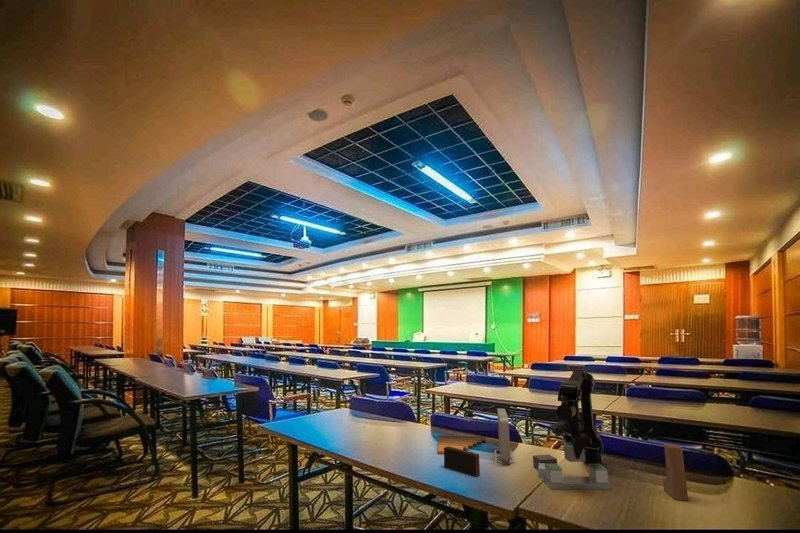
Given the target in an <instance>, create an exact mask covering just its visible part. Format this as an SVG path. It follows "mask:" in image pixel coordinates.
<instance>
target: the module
mask: <svg viewBox="0 0 800 533" xmlns="http://www.w3.org/2000/svg"><path fill="white" fill-rule="evenodd" d="M563 453H564V454H563V455H564V459H565V460H567V461H568V462H570V463H585V456H584V449H583V451H582V453H581V455H580V458H579V459H576V457H575V452H574V447H573V444H572V443H571V442H566V441H564V442H563Z"/></svg>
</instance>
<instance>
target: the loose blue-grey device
mask: <svg viewBox="0 0 800 533" xmlns="http://www.w3.org/2000/svg"><path fill="white" fill-rule="evenodd" d="M537 471H538V479H541V478H543V479H542V480H544V477H545V463H539V467H538V470H537Z"/></svg>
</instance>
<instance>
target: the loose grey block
mask: <svg viewBox="0 0 800 533" xmlns="http://www.w3.org/2000/svg"><path fill="white" fill-rule="evenodd" d="M539 463H545V464H557V465H558V458H556V457H554V456H553V455H550V454H538V455H532V465H533V466H532V467H533V468H534V469H535V470H537V471H538V467H539Z"/></svg>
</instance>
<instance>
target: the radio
mask: <svg viewBox="0 0 800 533" xmlns="http://www.w3.org/2000/svg"><path fill="white" fill-rule="evenodd" d="M440 432H441V433H443V434H444V436H448V437H449V436H450V435H447V434H446V433H445V432H443V431H442V430H440ZM450 438H451V437H450ZM451 439H452V438H451ZM453 440H454V439H453ZM454 441H455V440H454ZM456 442H457V441H456ZM457 443H458V442H457ZM459 444H460V443H459ZM460 445H461V444H460ZM462 446H463V445H462ZM463 447H464V446H463ZM465 448H466V447H465ZM466 449H467V448H466ZM443 468H444V469H447V470H451V471H454V472H458V473H460V474H464V475H467V476H471V477H475V478H477V477H479V476H480V475H481V474H480V473H481V470H480V469H481V468H480V454H479V453H476V452H473V451H472V450H470V449H468V451H465V450H461V449H457V448H453V447H449V446H447V447H445V448H444V454H443Z"/></svg>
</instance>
